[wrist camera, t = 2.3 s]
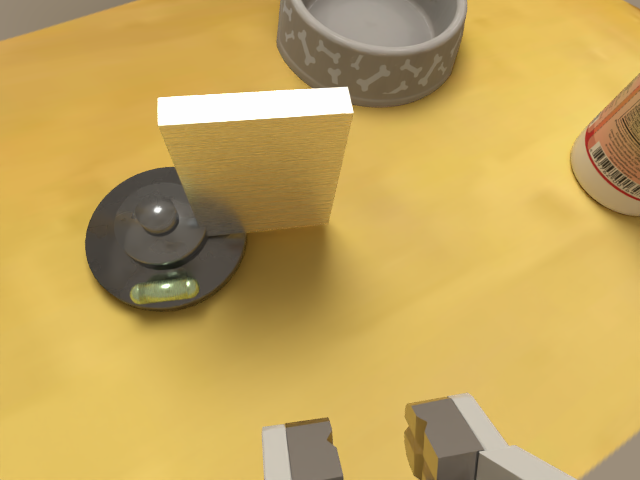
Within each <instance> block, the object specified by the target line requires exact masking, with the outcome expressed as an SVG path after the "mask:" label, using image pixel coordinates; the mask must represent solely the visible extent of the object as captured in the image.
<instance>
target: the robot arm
mask: <svg viewBox="0 0 640 480" xmlns="http://www.w3.org/2000/svg"><path fill="white" fill-rule="evenodd" d="M405 419H406V421H407V423H408V425H409V427H408V428H407V429H406V430H405V432H404V443H405V449H406V455H407V459H408V462H409V465H410V468H411V470H412V472H413V475H414V476H415V477H417V478H418V479H419V480H577V479H575V478H573V477H572V476H570V475H568V474H566V473H564V472H563V471H561V470H559V469H557V468H555V467H554V466H552V465H550V464H548V463H546V462H545V461H543V460H541V459H539V458H538V457H536V456H534V455H532V454H530V453H529V452H527V451H525V450H523V449H521V448H520V447H518V446H516V445H513V446H509V445H508V444H507V443H506V441H505V440H504V439H503V437H502V436H501V435H500V433H499V432H498V430H497V429H496V428H495V426H494V425H493V424H492V422H491V421H490V420H489V418H488V417H487V415H486V414H485V413H484V411H483V410H482V409H481V407H480V406H479V405H478V403H477V402H476V401H475V399H474V398H473V396H472V395H470V394H469V393H463V394H458V395H452V396H448V397H442V398H436V399H431V400H425V401H419V402H414V403H408V404H407V405H406V408H405ZM285 427H286V429H285ZM262 446H263V465H264V480H343V473H342V469H341V465H340V460H339V456H338V452H337V448H336V447H335V446H333V438H332V428H331V425H330V421H329V418H328V417H327V418H320V419H313V420H306V421H299V422H292V423H285V424H282V425H274V426H267V427H263V428H262Z"/></svg>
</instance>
